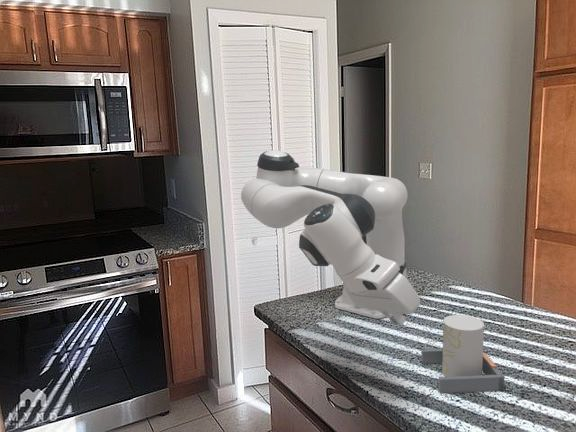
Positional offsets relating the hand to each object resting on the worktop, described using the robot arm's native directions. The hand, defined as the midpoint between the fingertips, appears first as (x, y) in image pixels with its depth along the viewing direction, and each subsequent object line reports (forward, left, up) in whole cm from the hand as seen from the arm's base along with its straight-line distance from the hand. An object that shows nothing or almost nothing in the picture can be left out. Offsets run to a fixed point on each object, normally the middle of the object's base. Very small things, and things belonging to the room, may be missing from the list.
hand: (399, 322), depth 97 cm
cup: (+12, +7, -13) cm, 19 cm away
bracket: (+11, +6, -13) cm, 18 cm away
